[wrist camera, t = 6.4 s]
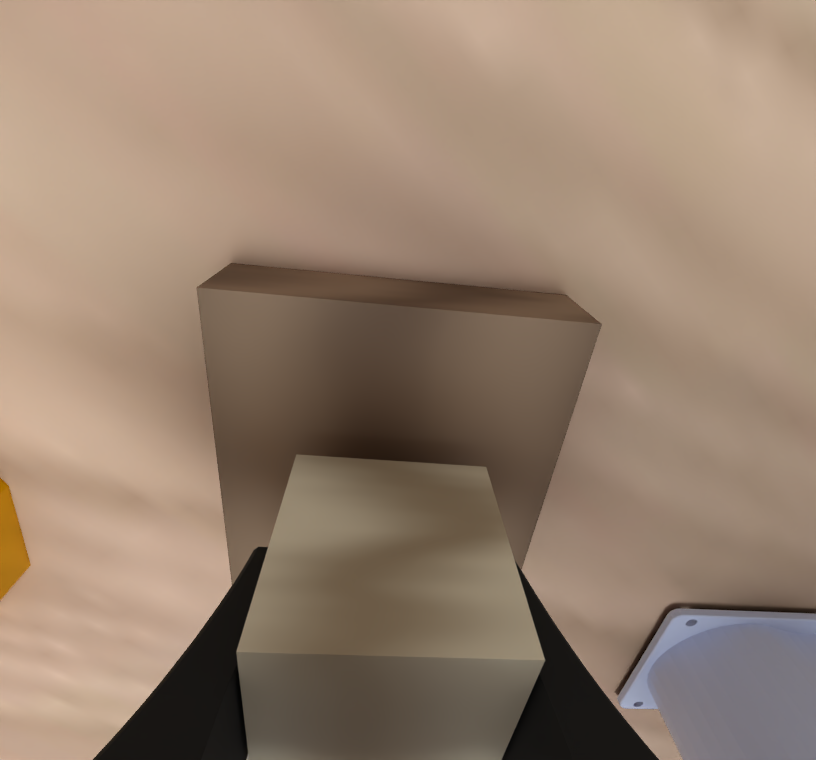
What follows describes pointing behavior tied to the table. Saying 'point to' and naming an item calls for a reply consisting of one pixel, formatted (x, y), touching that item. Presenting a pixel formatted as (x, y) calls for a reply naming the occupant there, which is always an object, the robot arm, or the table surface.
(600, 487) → the table surface
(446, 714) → the maple cube
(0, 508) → the yellow faceted tall shape
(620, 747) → the robot arm
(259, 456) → the walnut slab
